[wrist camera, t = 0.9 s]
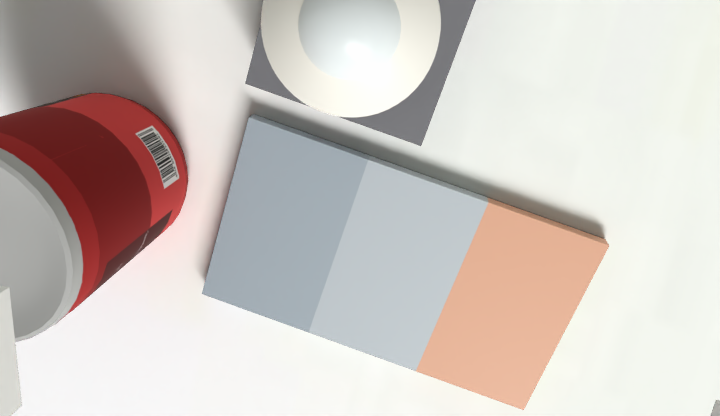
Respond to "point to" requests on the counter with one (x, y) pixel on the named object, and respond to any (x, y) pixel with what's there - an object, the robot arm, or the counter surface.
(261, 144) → the flat rectangular panel
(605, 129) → the counter surface
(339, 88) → the dome button
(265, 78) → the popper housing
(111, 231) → the canned food
